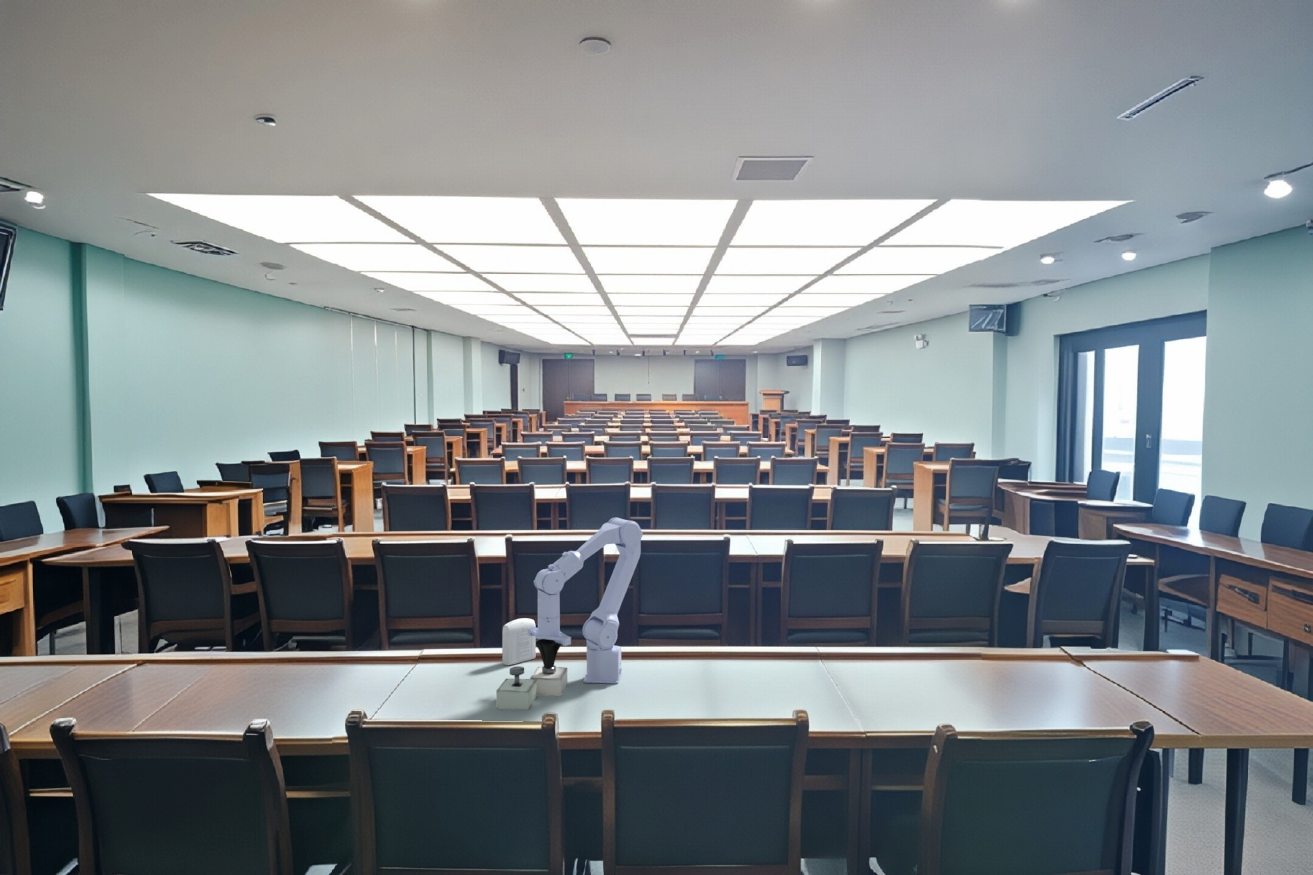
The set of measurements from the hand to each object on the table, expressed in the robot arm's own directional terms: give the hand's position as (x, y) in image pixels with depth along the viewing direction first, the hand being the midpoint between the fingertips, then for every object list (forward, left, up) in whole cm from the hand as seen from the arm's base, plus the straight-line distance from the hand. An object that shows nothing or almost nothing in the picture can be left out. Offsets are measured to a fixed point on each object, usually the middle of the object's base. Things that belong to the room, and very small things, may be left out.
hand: (549, 667), depth 180 cm
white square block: (0, 0, -6) cm, 6 cm away
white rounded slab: (+14, -21, -6) cm, 26 cm away
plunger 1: (+6, +9, -2) cm, 11 cm away
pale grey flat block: (+6, +9, -6) cm, 12 cm away
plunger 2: (0, 0, -5) cm, 5 cm away
